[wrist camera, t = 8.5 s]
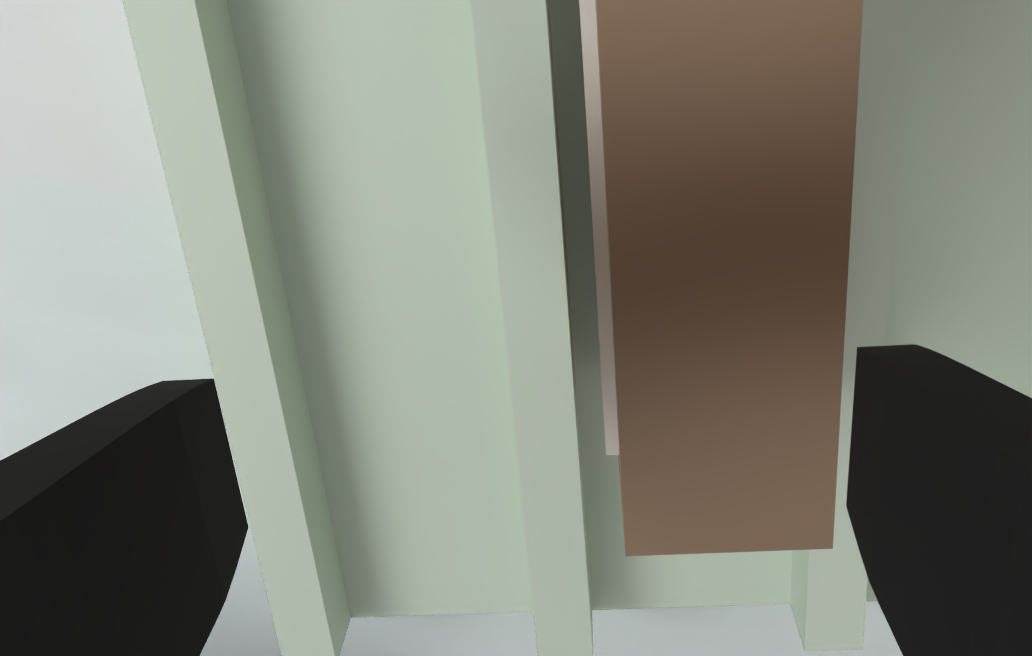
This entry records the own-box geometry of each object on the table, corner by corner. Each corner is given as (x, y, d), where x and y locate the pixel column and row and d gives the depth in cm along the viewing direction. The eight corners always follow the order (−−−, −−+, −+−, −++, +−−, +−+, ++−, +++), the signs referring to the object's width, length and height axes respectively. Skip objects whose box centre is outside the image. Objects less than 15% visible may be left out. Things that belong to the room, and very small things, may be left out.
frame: (771, 363, 19) (846, 547, 14) (601, 373, 20) (611, 556, 14) (781, -127, 16) (889, -138, 10) (573, -107, 16) (573, -107, 11)
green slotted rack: (1088, 564, 22) (1147, 641, 20) (309, 591, 24) (281, 665, 21) (1299, -546, 14) (1439, -629, 12) (94, -390, 16) (12, -439, 13)
